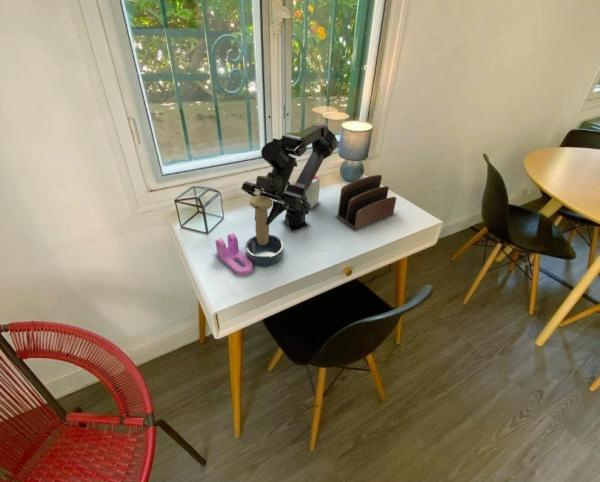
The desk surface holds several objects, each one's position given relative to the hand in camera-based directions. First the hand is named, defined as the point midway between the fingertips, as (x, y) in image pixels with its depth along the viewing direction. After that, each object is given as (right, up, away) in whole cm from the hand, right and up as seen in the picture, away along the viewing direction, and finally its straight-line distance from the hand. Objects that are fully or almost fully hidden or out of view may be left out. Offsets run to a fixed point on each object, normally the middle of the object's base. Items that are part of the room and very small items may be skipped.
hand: (261, 223), depth 97 cm
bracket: (-8, -12, +5) cm, 16 cm away
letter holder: (+36, +3, +29) cm, 47 cm away
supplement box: (+15, +7, +35) cm, 39 cm away
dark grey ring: (0, -10, +8) cm, 13 cm away
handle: (0, -6, +5) cm, 8 cm away
